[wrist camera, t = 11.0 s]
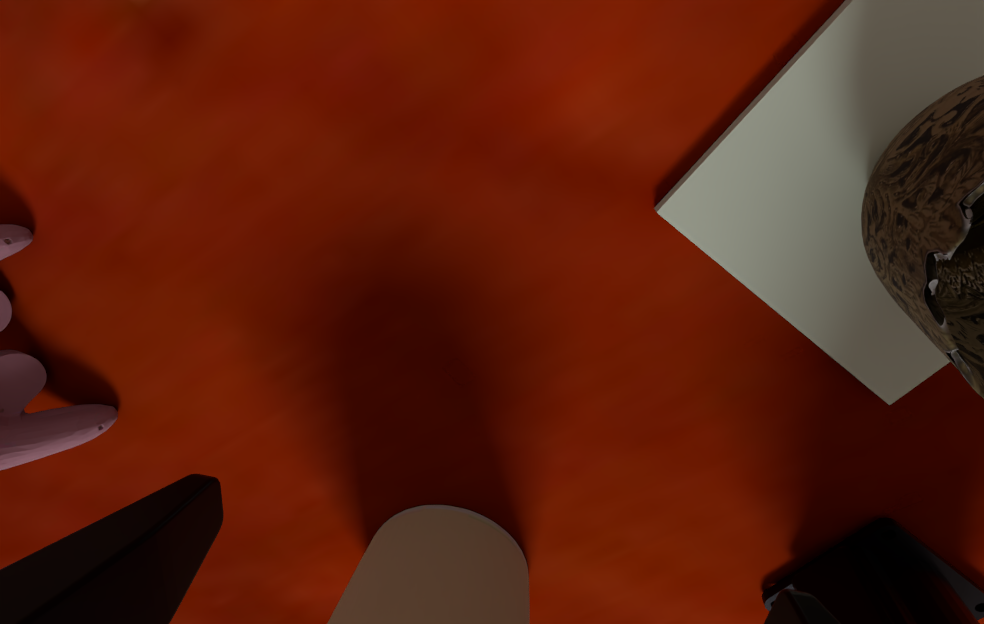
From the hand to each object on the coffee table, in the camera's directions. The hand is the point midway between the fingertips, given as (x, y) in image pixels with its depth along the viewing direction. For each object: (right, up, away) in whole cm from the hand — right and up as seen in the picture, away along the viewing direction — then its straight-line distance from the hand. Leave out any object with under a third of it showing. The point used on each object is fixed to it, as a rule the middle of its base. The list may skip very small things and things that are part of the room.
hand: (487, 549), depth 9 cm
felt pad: (+13, +8, +8) cm, 17 cm away
